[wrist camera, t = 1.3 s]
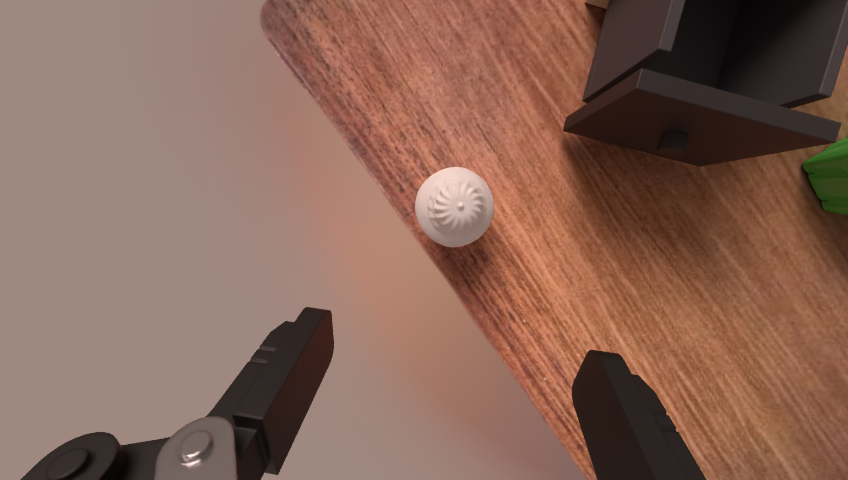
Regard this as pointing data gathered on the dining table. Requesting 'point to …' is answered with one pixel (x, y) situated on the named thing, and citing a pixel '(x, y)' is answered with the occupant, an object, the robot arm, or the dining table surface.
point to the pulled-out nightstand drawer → (713, 77)
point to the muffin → (454, 207)
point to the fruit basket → (830, 176)
